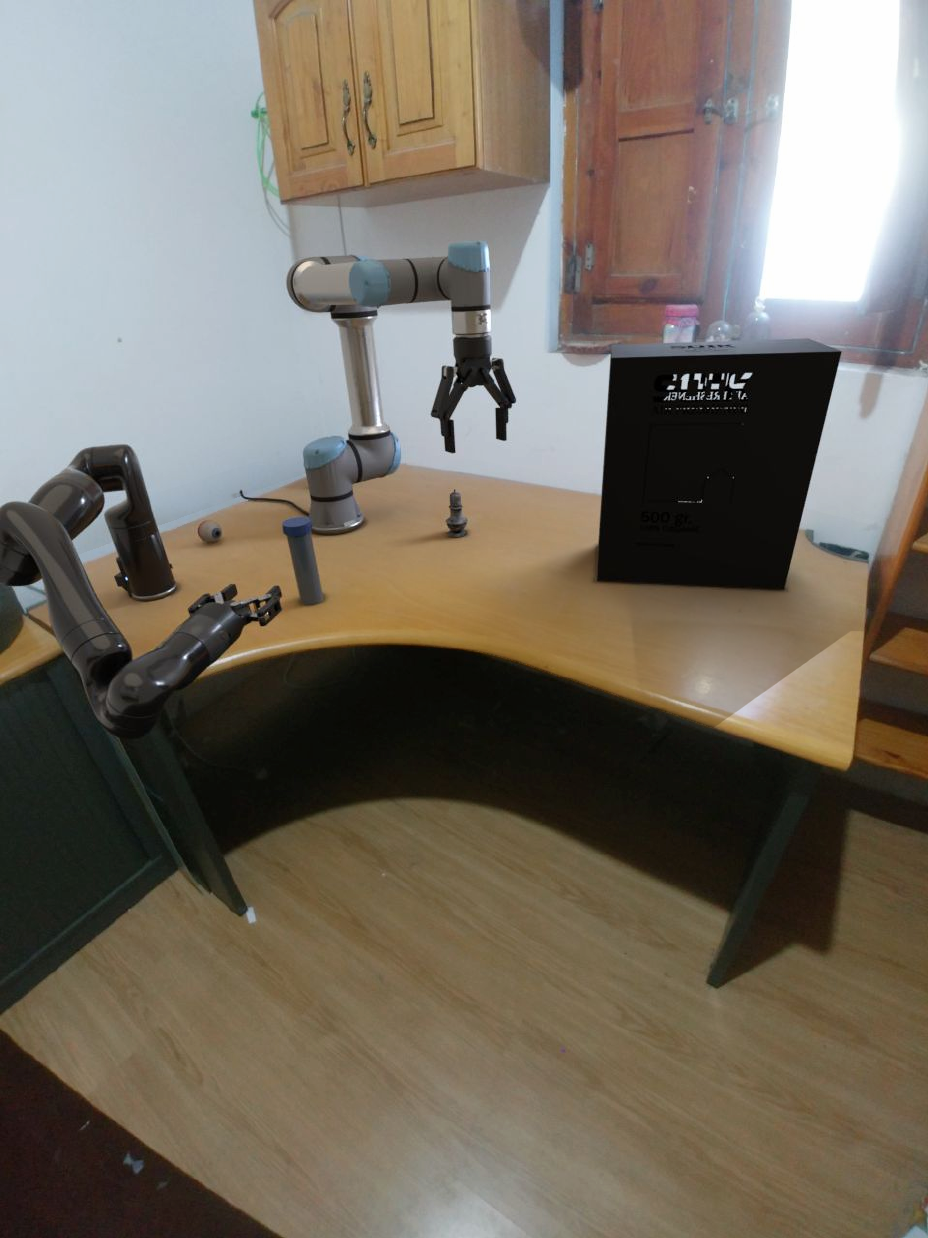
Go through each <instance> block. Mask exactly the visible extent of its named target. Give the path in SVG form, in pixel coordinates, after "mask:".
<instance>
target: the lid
mask: <svg viewBox="0 0 928 1238" xmlns="http://www.w3.org/2000/svg"><path fill="white" fill-rule="evenodd" d="M281 525H282V532H283V534H284V535H285V536H286V537H287V536H291V537H296V536H302V535H306V534H308V533H310V532H311V533H312V529H313V528H312V523H311V520H310V518H309V517H307V516H295V517H290V518H287V519H285V520H284V521H282V523H281Z"/></svg>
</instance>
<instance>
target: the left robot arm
mask: <svg viewBox="0 0 928 1238" xmlns="http://www.w3.org/2000/svg"><path fill="white" fill-rule="evenodd" d="M113 492H115V493H116V492H125V496H126V497H125V499H123V500H122V501H121V502H119V503H117V504H115V505H113V506H111V507H109V508H108V509H106V510H105V511H104V513H103V516H104V521H105V523H106V526H107V529H108V531H109V534H110V537H111V539H112V542H113V545H114V547H115V550H116V553H117V555H118V556H117V557H116V558H115V562H116V564H117V566H118V567H117V568H118V570H119V572H118V573H116V574H115V575H114V576H113V577H114V580H115V583H116V587H118V588H122V589H123V590H124V591H125V592H126V593H128V597H129V598H133V600H136V601H140V602H148V601H149V602H150V601H155V600H160V599H163V598H165V597H168V596H170V595H171V594H173V593H174V592H175V591H177V588H178V584H177V581H176V580H175V576H174V573H173V570H172V569H174V566H173V564H172V563H170V560H169V557H168V554H167V552H166V549H165V546H164V542H163V540H162V536H161V534H160V530H159V528H158V524H157V521H156V518H155V516H154V511H153V508H152V504H151V500H150V497H149V492H148V489H147V486H146V483H145V478H144V475H143V470H142V468H141V463H140V460H139V458H138V455H137V452H135V450H134V448H133V447H132V446H131V445H129V444H127V443H118V444H117V443H116V444H107V445H106V444H105V445H98V446H97V445H95V446H89V447H85V448H83V449H81V450H80V451H78V452H77V453H76V455H75V456H74V457H73V459H72V460H71V461H70V462H69V464H67V466H66V467H65V468H63V469H62V470H60V472H59V473H57V474H55V475H54V476H52V477H51V478H49V479H48V480H47V481H46V482H45V483H43V484H42V485H40V487H39V488H37V490H36V491H35V492H34V493H33V494H32V496H31V497H30V498H29V500H28V501H20V500H13V501H8V502H5V503H4V504H2V505H0V585H3V586H6V587H14V588H15V587H25V586H30V585H31V586H32V585H33V584H36V583H37V582H39V581H41V580H42V583H43V588H44V592H45V599H46V607H47V612H48V618H49V623H50V627H51V630H52V633H53V635H54V637H55V640H56V641H57V643H58V645H59V647H60V648H61V649H62V651H63V653H64V654H65V656H66V657H67V658H68V660H69V661H70V663H71V665H72V666H73V668H75V670H76V671H77V673H78V674H79V676H80V679H81V682H82V685H83V689H84V691H85V694H86V697H87V699H88V703H89V704H90V707H91V709H92V711H93V714H94V715H95V718H96V719H97V721H98V722H99V724H100V725H101V726H102V727H103V729H104V730H106V731H107V732H108V733H110V735H112V736H114V737H116V738H119V739H123V740H138V739H140V738H143V737H145V736H147V735H149V733H151V732H152V731H153V729H155V727H156V725H157V723H158V721H159V719H160V717H161V714H162V712H163V710H164V707H165V705H166V703H167V701H168V699H169V698H170V697H171V695H172V694H173V693H174V691H175V692H177V691H180V690H183V689H185V688H187V687H188V686H190V685H192V684H193V683H194V682H195V680H197V679H198V678H199V677H200V676H201V674H203V673H204V672H205V671H206V670H207V669H208V668H209V667H210V666H212V665H213V664H215V663H216V662H217V661H218V660H219V659H220V658H221V657H222V656H223V655H224V654H225V653H226V652H227V651H228V650H229V649H230V648H231V647H232V646H233V645H234V644H235V643H236V642H237V641H238V640H239V639H240V637H241V635H242V633H243V629H244V627H246V626H247V625H249V624H251V623H252V622H256V623H258V625H259V626H260V627H266V626H267V625H269V623H270V622H272V620H274V619H275V618H276V617H277V616H278V615H279V614H280V613H281V612H282V611H283V607H282V605H281V604H282V603H281V598H282V597H283V593H282V588H281V587H280V585H276V584H275V585H273V586H272V587H271V588H270V589H269V590H268V591H267V592H266V593H265V594H264V595H262V596H258V597H256V596H251V597H248V598H245V599H242V600H235V599H234V598H236V597H237V596H238V589H237V585H236V584H235V583H229V584H228V585H227V586H225V587H224V588H222V589H221V590H220V591H216V592H214V593H213V595H211V594H210V593H203V594H202V595H201V596H200V597H199V598H197V600H195V601H194V602H192V604H191V605H190V606H189V607H187V612H188V615H189V617H187V619H185V620H184V621H183V622H182V623H181V624H179V625H178V626H177V627H176V628H175V630H174V631H173V632H172V633H171V634H170V635H169V636H168V637H167V638H166V639H164V640H163V641H162V642H160V644H159V645H157V646H156V647H155V648H154V649H152V650H149V651H147V652H145V653H143V654H141V655H139V656H137V657H134V656H133V655H134V653H133V652H134V651H133V648H132V646H131V645H130V643H129V641H128V640H127V638H126V637H125V635H124V634H123V633H122V631H121V629H120V628H119V627H118V626H117V625H116V623H115V622H114V620H113V619H112V618H111V616H110V615H109V613H108V612H107V610H106V609H105V608H104V606H103V603H102V602H101V601H100V599H99V597H98V595H97V593H96V591H95V588H94V587H93V585H92V583H91V579H89V576H88V573H87V571H86V569H85V567H84V564H83V563H82V560H81V558H80V555H79V554H78V552H77V549H76V547H75V544H74V543H73V540H75V539H76V538H77V537H78V536H79V535H81V533H83V532H84V531H85V530H86V529H87V528H89V527H90V525H91V524H93V522H95V520H96V519H97V518H98V517H100V514H102V512H103V510H104V507H105V503H106V502H105V501H106V499H105V494H106V493H113ZM261 603H264V604H263V605H262V606H261ZM251 604H252V605H253V609H254V612H252V609H251V606H250V605H251ZM133 657H134V658H133Z"/></svg>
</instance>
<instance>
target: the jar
mask: <svg viewBox="0 0 928 1238" xmlns="http://www.w3.org/2000/svg"><path fill="white" fill-rule="evenodd" d="M286 539H287V544H288V550H289V553H290V559H291V563H292V568H293V573H294V577H295V581H296V587H297V590H298V596H299V601H300V603H301V604H302V605H306V606H311V605H316V604H318V603H320V602H322V601H323V600H324V594H323V589H322V583H321V578H320V573H319V567H318V563H317V556H316V551H315V547H314V541H313V536H312V531H311V532H310V533H308V534H306V535H302V536H296V537H291V536H286Z"/></svg>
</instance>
